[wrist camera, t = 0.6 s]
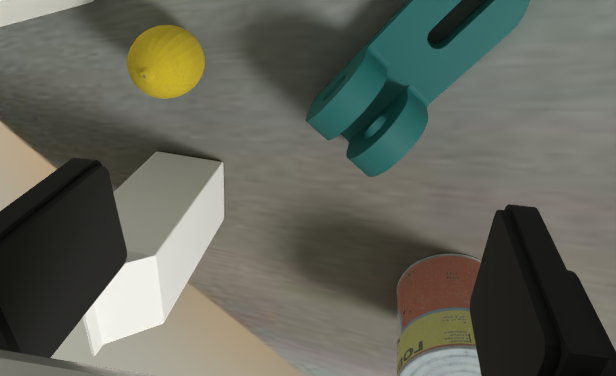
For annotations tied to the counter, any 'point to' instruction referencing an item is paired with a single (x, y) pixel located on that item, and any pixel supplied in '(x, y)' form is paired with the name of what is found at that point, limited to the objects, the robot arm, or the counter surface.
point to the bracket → (405, 78)
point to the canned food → (437, 317)
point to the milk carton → (158, 242)
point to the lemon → (166, 61)
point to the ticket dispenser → (33, 9)
